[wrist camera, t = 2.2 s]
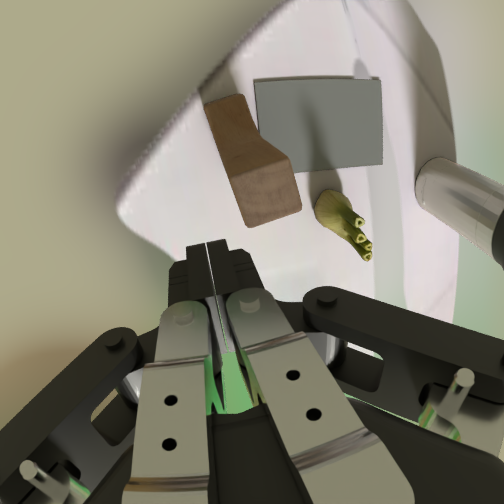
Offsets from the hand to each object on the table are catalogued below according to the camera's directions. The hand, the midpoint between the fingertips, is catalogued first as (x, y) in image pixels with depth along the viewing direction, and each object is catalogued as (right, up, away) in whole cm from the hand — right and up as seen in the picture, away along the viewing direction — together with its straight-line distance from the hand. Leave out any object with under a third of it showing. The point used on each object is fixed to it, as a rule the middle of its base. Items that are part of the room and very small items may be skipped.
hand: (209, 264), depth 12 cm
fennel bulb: (+12, +7, +32) cm, 35 cm away
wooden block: (-1, +15, +25) cm, 29 cm away
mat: (+11, +17, +26) cm, 33 cm away
